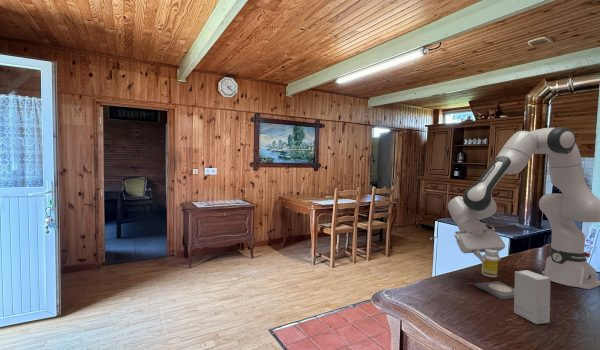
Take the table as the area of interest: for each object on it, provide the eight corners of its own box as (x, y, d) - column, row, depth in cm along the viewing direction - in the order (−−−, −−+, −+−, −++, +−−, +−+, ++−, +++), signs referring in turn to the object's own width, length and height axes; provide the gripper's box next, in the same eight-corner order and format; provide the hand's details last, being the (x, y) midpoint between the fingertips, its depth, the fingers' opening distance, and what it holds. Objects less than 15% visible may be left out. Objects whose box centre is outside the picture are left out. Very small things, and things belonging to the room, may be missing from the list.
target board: (497, 283, 129) (498, 280, 129) (525, 296, 118) (525, 292, 118) (475, 286, 126) (475, 282, 126) (501, 299, 115) (501, 295, 115)
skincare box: (549, 323, 98) (553, 278, 97) (535, 325, 97) (538, 279, 96) (525, 310, 106) (528, 269, 105) (511, 311, 105) (514, 269, 104)
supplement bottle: (499, 278, 117) (501, 253, 116) (484, 276, 118) (486, 252, 117) (493, 273, 122) (495, 249, 122) (479, 271, 123) (480, 248, 123)
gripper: (457, 227, 123) (475, 259, 114) (496, 226, 128) (516, 255, 120) (448, 235, 127) (465, 266, 118) (486, 233, 133) (505, 263, 124)
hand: (491, 261), depth 119 cm, fingers closed on supplement bottle, 5 cm apart
